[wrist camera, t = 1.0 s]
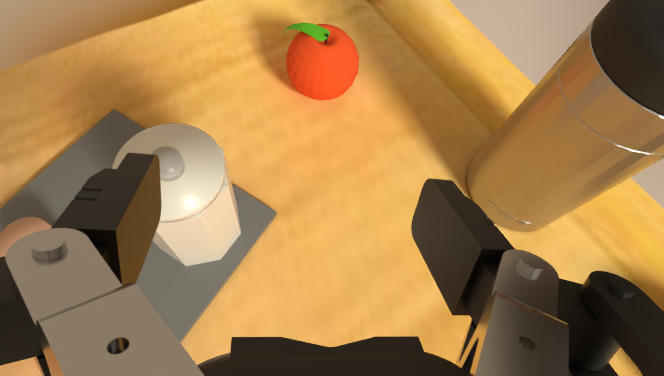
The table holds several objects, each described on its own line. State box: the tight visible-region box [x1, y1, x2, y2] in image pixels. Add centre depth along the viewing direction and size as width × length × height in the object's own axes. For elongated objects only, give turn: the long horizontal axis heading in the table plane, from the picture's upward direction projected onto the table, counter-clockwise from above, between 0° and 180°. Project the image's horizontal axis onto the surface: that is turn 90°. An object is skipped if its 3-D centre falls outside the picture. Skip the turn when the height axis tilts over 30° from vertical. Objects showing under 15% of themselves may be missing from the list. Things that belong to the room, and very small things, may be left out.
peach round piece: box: [0, 217, 52, 257], centre depth 29 cm, size 3×3×3 cm
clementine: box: [282, 23, 359, 100], centre depth 38 cm, size 8×7×7 cm
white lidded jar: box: [112, 123, 241, 266], centre depth 28 cm, size 6×6×11 cm
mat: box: [0, 109, 277, 342], centre depth 32 cm, size 17×18×1 cm
